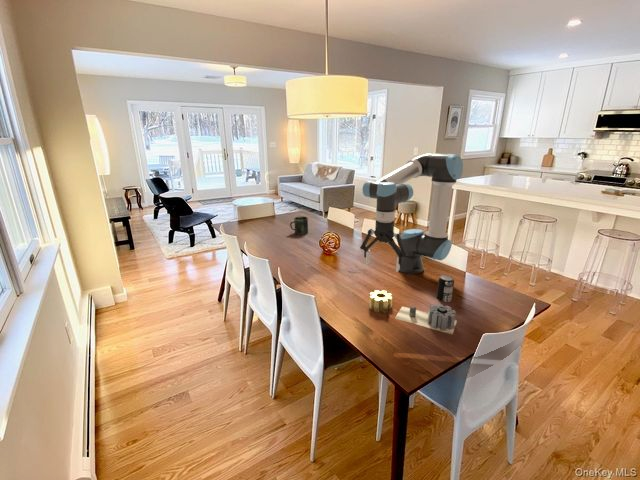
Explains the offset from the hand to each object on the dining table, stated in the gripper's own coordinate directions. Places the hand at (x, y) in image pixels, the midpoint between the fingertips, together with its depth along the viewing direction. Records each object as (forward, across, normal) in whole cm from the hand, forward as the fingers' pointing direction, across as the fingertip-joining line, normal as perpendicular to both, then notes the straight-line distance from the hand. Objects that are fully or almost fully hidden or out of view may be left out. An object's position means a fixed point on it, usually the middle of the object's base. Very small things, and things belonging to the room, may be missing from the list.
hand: (382, 267), depth 138 cm
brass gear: (+20, 0, 0) cm, 20 cm away
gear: (+18, +26, -2) cm, 32 cm away
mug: (+20, -94, +74) cm, 121 cm away
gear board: (+20, +20, -2) cm, 28 cm away
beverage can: (+20, +24, +20) cm, 37 cm away
